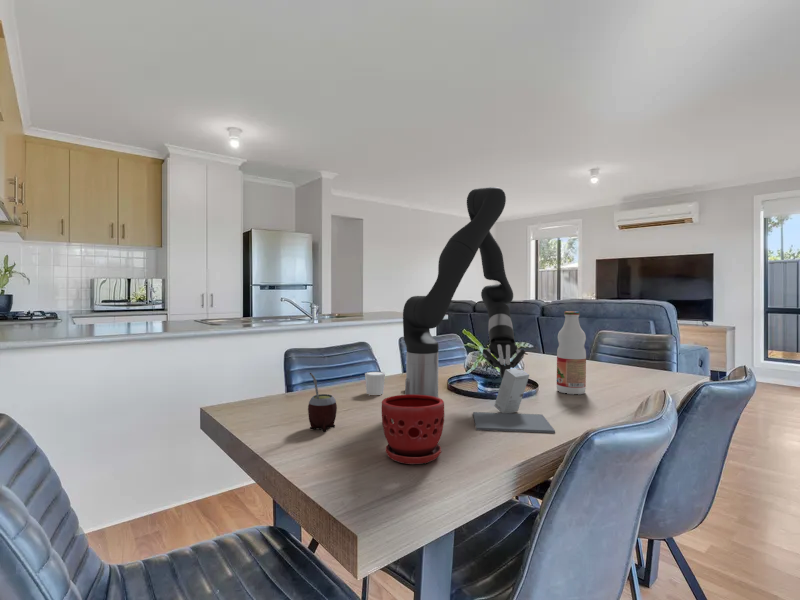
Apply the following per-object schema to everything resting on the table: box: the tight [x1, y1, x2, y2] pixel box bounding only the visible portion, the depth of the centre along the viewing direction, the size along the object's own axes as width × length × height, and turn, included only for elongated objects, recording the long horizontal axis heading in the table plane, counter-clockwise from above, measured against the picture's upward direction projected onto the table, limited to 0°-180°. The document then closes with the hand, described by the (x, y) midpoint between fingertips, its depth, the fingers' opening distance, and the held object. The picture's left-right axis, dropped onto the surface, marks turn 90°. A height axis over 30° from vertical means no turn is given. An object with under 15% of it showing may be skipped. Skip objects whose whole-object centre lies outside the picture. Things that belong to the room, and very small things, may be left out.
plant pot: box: [381, 394, 445, 465], centre depth 90 cm, size 13×13×12 cm
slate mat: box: [472, 411, 556, 434], centre depth 113 cm, size 19×14×1 cm
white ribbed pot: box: [364, 371, 386, 396], centre depth 144 cm, size 7×7×7 cm
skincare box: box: [494, 367, 530, 413], centre depth 122 cm, size 6×4×12 cm
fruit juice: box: [556, 310, 587, 395], centre depth 148 cm, size 9×9×28 cm
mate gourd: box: [307, 372, 338, 433], centre depth 107 cm, size 8×8×15 cm
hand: (505, 378), depth 123 cm, fingers closed
